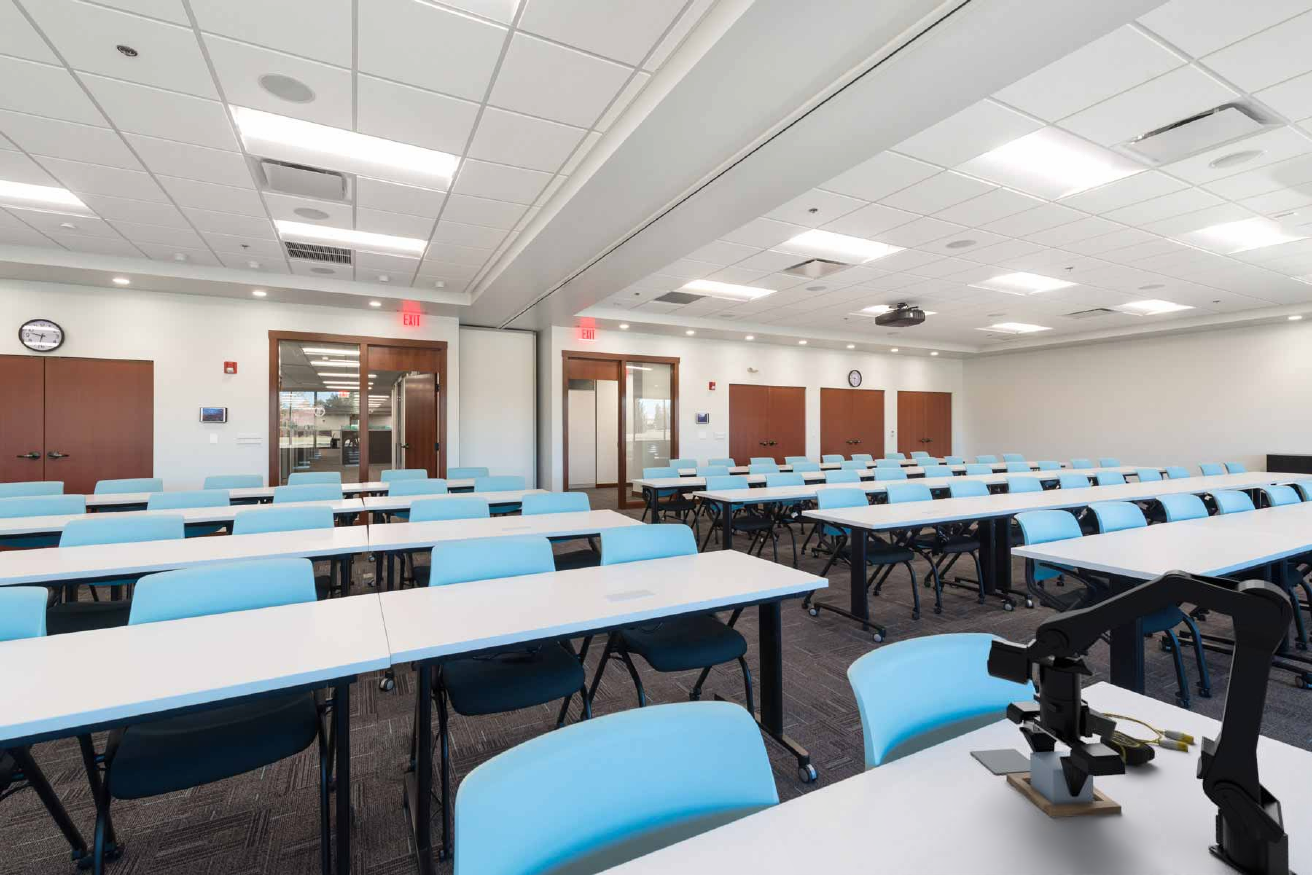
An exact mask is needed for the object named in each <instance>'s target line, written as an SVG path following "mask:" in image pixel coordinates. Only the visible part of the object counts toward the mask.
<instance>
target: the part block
mask: <svg viewBox="0 0 1312 875" xmlns="http://www.w3.org/2000/svg"><path fill="white" fill-rule="evenodd" d="M1062 756H1070V750H1054V751H1050V752H1034V753H1033V752H1029V760H1030V779H1031V783H1030V786H1031V787H1032V788H1033V789H1034V790H1036V791H1037V792H1038V793H1039V794H1041V795H1042V796H1043V797H1044V798H1045V799H1047V800H1048V801H1049V802H1050V803H1051V804H1066V803H1080V802H1094V799H1093V786H1094V776H1092V775H1089V776H1088V778H1087V780H1086V782H1085V784H1084V786H1083V788H1082V790H1081V792H1080V794H1079V796H1078V797H1072V796H1071V795H1070V792H1069V790H1068V787H1067V783H1066V779H1065V775H1064V772H1063V768H1062V764H1061V761H1060V757H1062Z"/></svg>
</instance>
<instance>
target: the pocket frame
mask: <svg viewBox="0 0 1312 875" xmlns="http://www.w3.org/2000/svg"><path fill="white" fill-rule="evenodd" d="M1006 781H1008V782H1009V783H1011V785H1013V787H1015V788H1016V789H1018V791H1020V792H1021V793H1022V794H1023V796H1026V797H1027V798H1028V799H1029V800H1030V801H1031V802H1032V803H1034V804H1035V806H1038V807H1039V808H1040V809H1041V810H1042V811H1043V812H1044V813H1045V814H1046V815H1048V816H1049V817H1050V818H1060V817H1061V818H1063V817H1066V818H1067V817H1078V816H1090V815H1091V816H1092V815H1106V814H1119V813H1122V805H1121V804H1119V803H1117V801H1115V800H1113V799H1112V798H1110V797H1109V796H1107V795H1106V794H1105V793H1104V792H1102V791H1101V790H1099V789H1098V788H1097V787H1095V786H1094V785H1093V802H1080V803H1066V804H1051V803H1050V802H1049V801H1048V800H1047V799H1045V798H1044V797H1043V796H1042V795H1041V794H1039V793H1038V792H1037V791H1036V790H1034V789H1033V788H1032V787H1031V779H1030V772H1026V773H1011V774H1006Z"/></svg>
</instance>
